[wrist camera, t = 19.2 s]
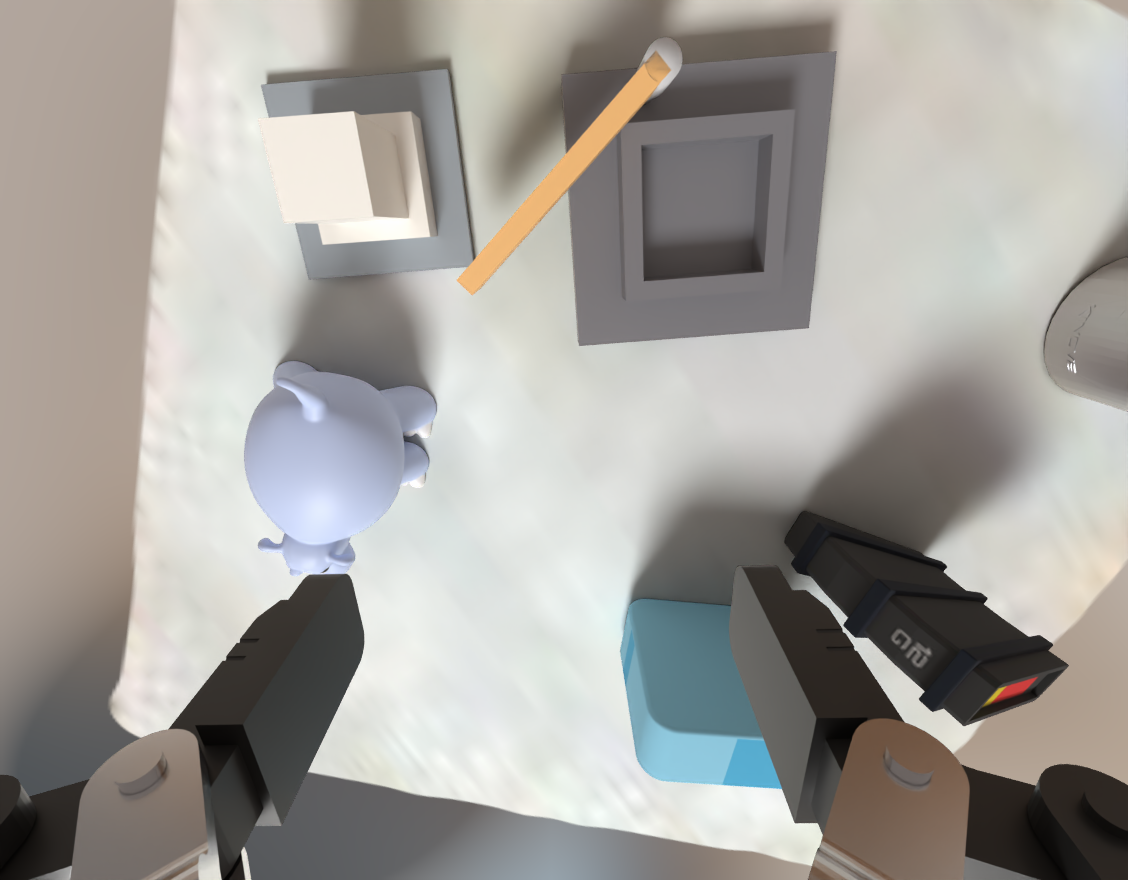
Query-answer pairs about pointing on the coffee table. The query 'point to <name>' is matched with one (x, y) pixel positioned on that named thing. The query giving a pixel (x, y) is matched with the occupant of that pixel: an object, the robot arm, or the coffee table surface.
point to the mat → (436, 112)
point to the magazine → (924, 621)
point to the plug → (351, 174)
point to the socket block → (700, 200)
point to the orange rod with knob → (578, 158)
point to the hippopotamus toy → (331, 460)
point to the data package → (690, 697)
